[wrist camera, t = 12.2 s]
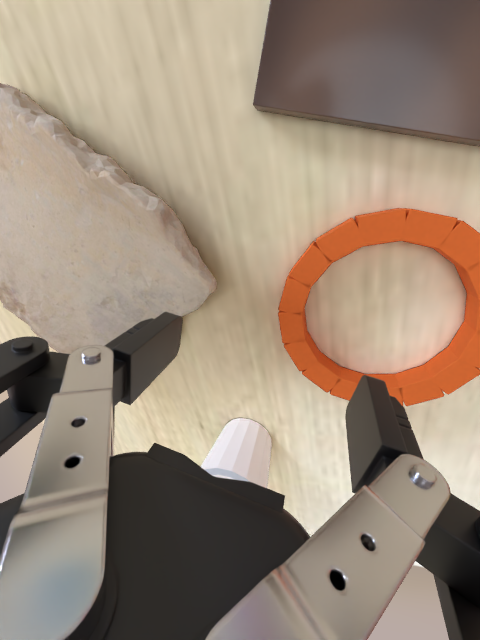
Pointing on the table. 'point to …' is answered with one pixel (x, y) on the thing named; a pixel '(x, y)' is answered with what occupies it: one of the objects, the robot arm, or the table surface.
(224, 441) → the white cylinder
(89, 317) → the stone slab
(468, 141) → the peg board
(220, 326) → the table surface
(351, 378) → the ring
